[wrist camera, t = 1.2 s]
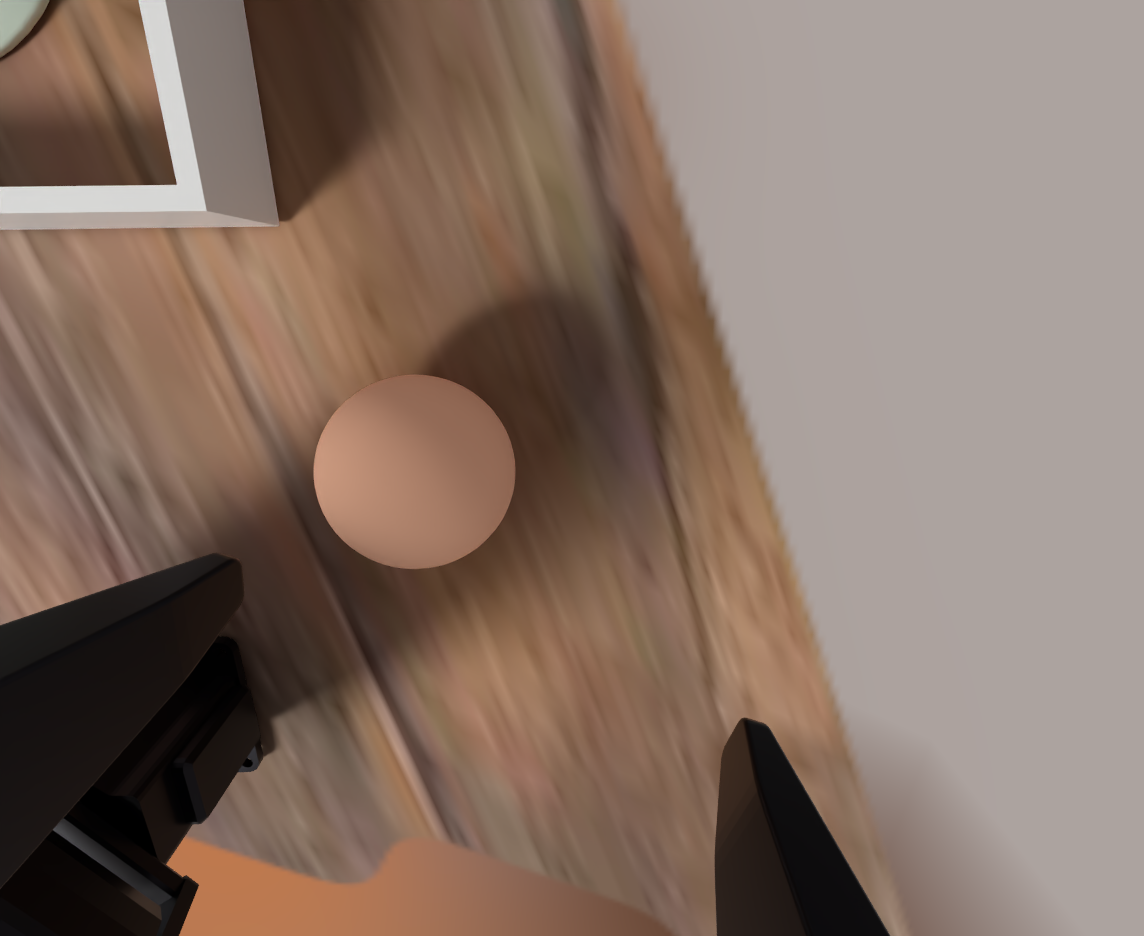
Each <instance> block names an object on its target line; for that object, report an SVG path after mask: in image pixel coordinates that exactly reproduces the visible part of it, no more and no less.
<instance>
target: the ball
mask: <svg viewBox="0 0 1144 936" xmlns="http://www.w3.org/2000/svg"><path fill="white" fill-rule="evenodd" d="M314 484H315V490H316V494H317V498H318V501H319V504H320V507H321V509H322V512H323V514H324V516H325V517H326V519H327V521H328V523H329V524H330V526H331V527H332V528H333V530H334V531H335V532H336V534H337V535H338V536H339V537H340V538H341V539H342V540H343V541H344V542H345V543H346V544H348V545H349V546H350V547H351V548H352V549H354V550H355V551H357V552H358V553H360V554H361V555H363V556H365V557H367V558H369V559H371V560H373V561H376V562H378V563H381V564H384V565H388V566H391V567H396V568H403V569H423V568H432V567H437V566H442V565H445V564H448V563H451V562H454V561H456V560H458V559H460V558H462V557H464V556H466V555H467V554H469V553H470V552H472V551H473V550H475V549H477V548H478V547H479V546H480V545H481V544H482V543H484V542H485V541H486V540H487V539H488V538H489V536H490V535H491V534H492V533H493V532H494V531H495V530H496V528H497V527H498V526H499V524H500V522H501V521H502V519H503V518H504V516H505V513H506V511H507V509H508V507H509V504H510V501H511V498H512V495H513V491H514V485H515V459H514V452H513V449H512V445H511V441H510V439H509V436H508V434H507V432H506V430H505V428H504V426H503V424H502V423H501V421H500V419H499V418H498V417H497V415H496V414H495V413H494V411H493V410H492V409H491V408H490V407H489V406H488V405H487V404H486V403H485V402H484V401H483V400H482V399H481V398H480V397H478V396H477V395H476V394H475V393H473V392H472V391H470V390H468V389H467V388H465V387H463V386H461V385H459V384H457V383H455V382H452V381H449V380H446V379H443V378H439V377H434V376H428V375H414V374H411V375H400V376H395V377H391V378H386V379H383V380H380V381H378V382H375V383H372V384H370V385H368V386H366V387H365V388H363V389H361V390H359V391H358V392H357V393H355V394H354V395H352V396H351V397H350V398H349V399H347V400H346V401H345V402H344V403H343V404H342V405H341V406H340V407H339V408H338V409H337V410H336V412H335V413H334V414H333V416H332V417H331V418H330V420H329V421H328V423H327V425H326V427H325V429H324V431H323V432H322V434H321V437H320V440H319V443H318V445H317V450H316V455H315V461H314Z"/></svg>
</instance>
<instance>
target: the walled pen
mask: <svg viewBox="0 0 1144 936" xmlns="http://www.w3.org/2000/svg"><path fill="white" fill-rule="evenodd" d="M49 1H50V0H0V58H1V57H2V56H3V55H5V54H6V53H8V52H9V51H11V50H12V49H13V48H14V47H15V46H16V45H18V44H19V43H20V42H21V41H22V40H23V39H24V38H25V37H26V36H27V35H28V34H29V33H30V31H31V30H32V28H33V27H34V26H35V24H36V23H37V21H38V20H39V19H40V17H41V16H42V14H43V13H44V11H45V9H46V7H47V5H48V3H49ZM139 5H140V9H141V14H142V19H143V24H144V29H145V33H146V38H147V43H148V48H149V53H150V57H151V62H152V67H153V72H154V77H155V81H156V86H157V91H158V96H159V101H160V105H161V110H162V115H163V120H164V125H165V129H166V134H167V139H168V144H169V149H170V153H171V158H172V163H173V168H174V173H175V177H176V182H177V185H128V186H35V187H0V230H24V229H104V228H184V227H265V226H280V225H279V219H278V213H277V207H276V201H275V194H274V188H273V182H272V176H271V169H270V163H269V157H268V151H267V145H266V138H265V132H264V126H263V120H262V114H261V107H260V101H259V95H258V89H257V83H256V76H255V70H254V64H253V58H252V51H251V45H250V39H249V33H248V27H247V20H246V14H245V8H244V2H243V0H139Z"/></svg>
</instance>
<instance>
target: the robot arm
mask: <svg viewBox="0 0 1144 936" xmlns="http://www.w3.org/2000/svg"><path fill="white" fill-rule="evenodd" d="M243 597H244V584H243V573H242V564H241V562H240V560H239V559H237V558H235V557H232V556H229V555H225V554H222V553H212V554H209V555H206V556H203V557H200V558H197V559H194V560H191V561H188V562H185V563H182V564H179V565H176V566H174V567H171V568H168V569H165V570H162V571H159V572H156V573H153V574H150V575H147V576H144V577H141V578H138V579H135V580H132V581H129V582H126V583H124V584H121V585H118V586H115V587H112V588H109V589H106V590H103V591H100V592H97V593H94V594H91V595H88V596H85V597H82V598H79V599H76V600H74V601H71V602H68V603H65V604H62V605H59V606H56V607H53V608H50V609H47V610H44V611H41V612H38V613H35V614H32V615H29V616H26V617H24V618H21V619H18V620H15V621H12V622H9V623H6V624H3V625H0V936H179V934H180V931H181V929H182V926H183V924H184V921H185V919H186V916H187V914H188V911H189V909H190V906H191V904H192V901H193V899H194V896H195V894H196V891H197V889H198V886H199V885H198V884H197V883H196V882H195V881H193V880H192V879H191V878H189V877H188V876H187V875H186V876H184V877H182V876H181V875H179V874H178V873H177V872H175V871H173V869H171V868H170V867H168V866H167V865H166V864H167V862H168V861H169V859H170V858H171V856H172V855H173V853H174V852H175V850H176V849H177V847H178V846H179V844H180V843H181V841H182V840H183V838H184V837H185V835H186V834H187V832H188V831H189V829H190V828H191V826H192V825H193V824H202V823H203V822H204V821H205V820H206V819H207V818H208V817H209V815H210V814H211V812H212V811H213V809H214V808H215V806H216V805H217V803H218V802H219V800H220V798H221V797H222V795H223V794H224V792H225V791H226V789H227V788H228V786H229V785H230V783H231V782H232V780H233V778H234V777H235V775H236V774H237V772H251V771H254V770H256V769H257V768H258V766H259V764H260V763H261V761H262V760H263V752H262V747H261V743H260V739H259V738H260V730H259V726H258V722H257V717H256V713H255V709H254V704H253V700H252V696H251V691H250V689H249V688H248V686H247V682H246V678H245V674H244V669H243V665H242V661H241V656H240V652H239V648H238V645H237V643H236V642H235V641H234V640H233V639H231V638H229V637H218V635H219V634H220V633H221V631H222V630H223V628H224V627H225V626H226V624H227V623H228V622H229V620H230V619H231V617H232V616H233V615H234V613H235V612H236V611H237V609H238V608H239V606H240V605H241V603H242V600H243ZM220 648H222V649H224V650H225V651H226V652H223V651H221V650H220ZM248 758H249V759H248ZM250 759H251V760H250ZM715 893H716V922H717V936H890V935H889V933H888V931H887V929H886V928H885V926H884V924H883V922H882V921H881V919H880V917H879V916H878V914H877V912H876V910H875V909H874V907H873V905H872V904H871V902H870V900H869V898H868V897H867V895H866V893H865V892H864V890H863V888H862V886H861V885H860V883H859V881H858V879H857V878H856V876H855V874H854V873H853V871H852V869H851V867H850V866H849V864H848V862H847V861H846V859H845V857H844V855H843V854H842V852H841V850H840V848H839V847H838V845H837V843H836V842H835V840H834V838H833V836H832V835H831V833H830V831H829V830H828V828H827V826H826V824H825V823H824V821H823V819H822V817H821V816H820V814H819V812H818V811H817V809H816V807H815V805H814V804H813V802H812V800H811V799H810V797H809V795H808V793H807V792H806V790H805V788H804V787H803V785H802V783H801V781H800V780H799V778H798V776H797V774H796V773H795V771H794V769H793V768H792V766H791V764H790V762H789V761H788V759H787V757H786V756H785V754H784V752H783V750H782V749H781V747H780V745H779V743H778V742H777V740H776V738H775V737H774V735H773V733H772V731H771V730H770V728H769V727H768V726H767V725H766V724H764V723H762V722H758V721H755V720H752V719H749V718H742V719H741V720H740V721H739V722H738V724H737V725H736V727H735V729H734V731H733V732H732V734H731V736H730V738H729V739H728V741H727V743H726V745H725V747H724V750H723V753H722V758H721V770H720V784H719V798H718V812H717V826H716V840H715Z"/></svg>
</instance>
